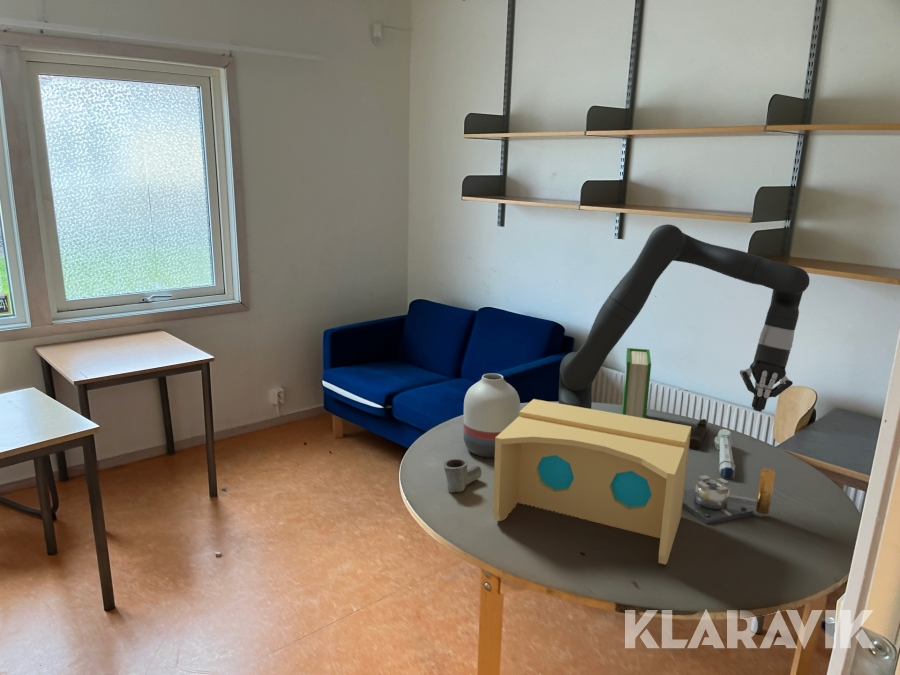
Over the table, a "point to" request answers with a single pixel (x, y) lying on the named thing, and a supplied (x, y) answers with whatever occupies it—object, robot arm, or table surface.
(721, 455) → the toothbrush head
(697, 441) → the hand tool
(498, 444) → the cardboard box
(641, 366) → the hardback book
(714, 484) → the crank handle
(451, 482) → the pipe
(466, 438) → the vase
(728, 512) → the hub plate
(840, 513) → the table surface
